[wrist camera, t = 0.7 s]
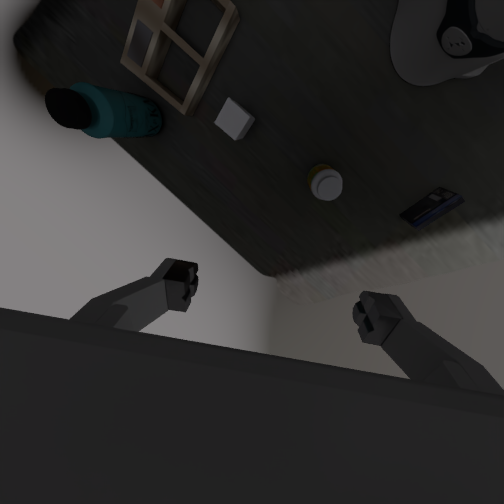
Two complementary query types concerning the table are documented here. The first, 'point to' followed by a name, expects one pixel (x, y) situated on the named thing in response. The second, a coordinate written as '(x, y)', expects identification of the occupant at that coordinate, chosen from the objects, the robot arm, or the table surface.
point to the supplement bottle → (324, 182)
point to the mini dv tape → (431, 208)
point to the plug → (234, 119)
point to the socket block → (158, 42)
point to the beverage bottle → (103, 111)
